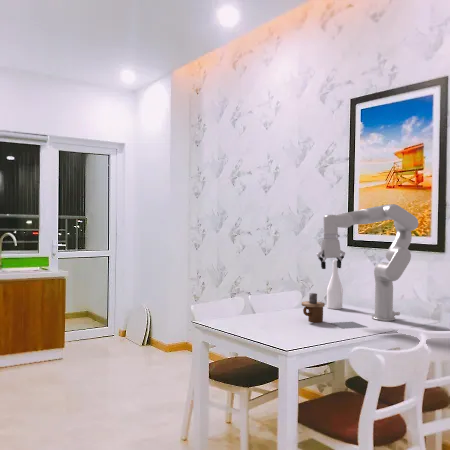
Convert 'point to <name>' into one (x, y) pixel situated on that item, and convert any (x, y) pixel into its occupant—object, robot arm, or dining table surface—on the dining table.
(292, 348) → the dining table surface
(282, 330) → the dining table surface
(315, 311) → the mug
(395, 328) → the dining table surface
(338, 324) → the rubber mat
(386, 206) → the robot arm
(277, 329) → the dining table surface
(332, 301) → the wine bottle
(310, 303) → the copper lid
